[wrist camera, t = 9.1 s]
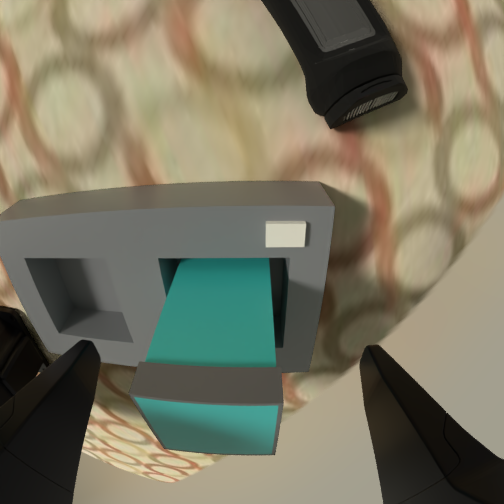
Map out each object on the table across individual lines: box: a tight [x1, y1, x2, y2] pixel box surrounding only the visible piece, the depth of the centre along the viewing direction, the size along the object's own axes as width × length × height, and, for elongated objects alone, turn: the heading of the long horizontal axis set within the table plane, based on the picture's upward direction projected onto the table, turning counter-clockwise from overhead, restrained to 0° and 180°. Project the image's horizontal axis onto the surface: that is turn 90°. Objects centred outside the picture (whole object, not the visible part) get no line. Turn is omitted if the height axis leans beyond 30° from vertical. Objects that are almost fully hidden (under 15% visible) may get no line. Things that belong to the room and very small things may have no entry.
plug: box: [129, 258, 284, 455], centre depth 10 cm, size 3×3×7 cm
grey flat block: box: [0, 181, 335, 373], centre depth 12 cm, size 14×8×3 cm, turn 91°
